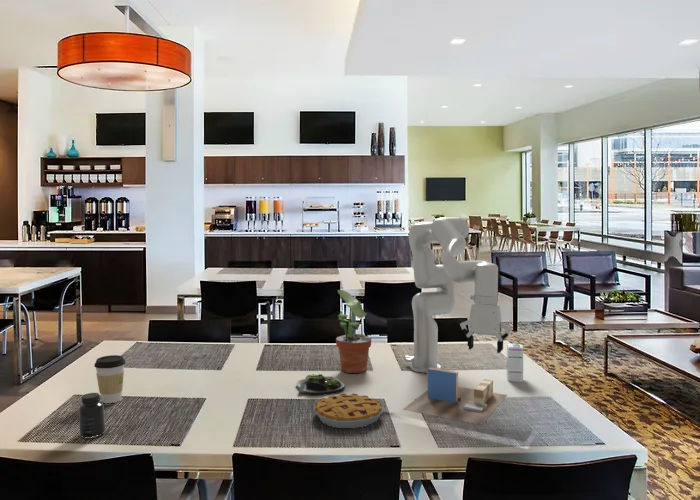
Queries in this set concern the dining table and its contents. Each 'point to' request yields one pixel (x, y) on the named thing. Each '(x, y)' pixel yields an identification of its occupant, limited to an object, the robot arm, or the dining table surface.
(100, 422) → the supplement bottle
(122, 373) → the coffee cup
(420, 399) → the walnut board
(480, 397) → the tan bar
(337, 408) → the pie
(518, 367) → the syrup box
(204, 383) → the dining table surface
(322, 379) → the salad plate
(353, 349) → the potted plant
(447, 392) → the tile
